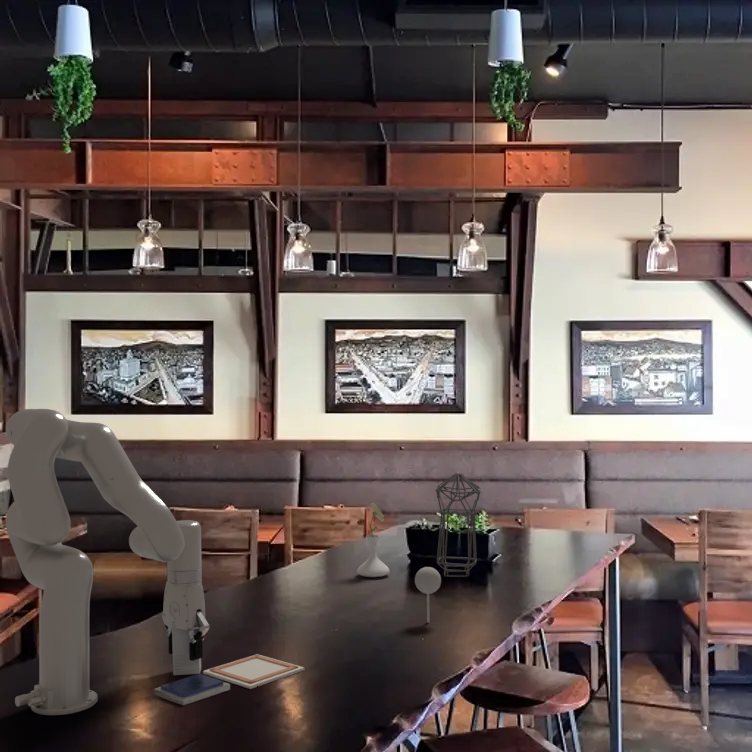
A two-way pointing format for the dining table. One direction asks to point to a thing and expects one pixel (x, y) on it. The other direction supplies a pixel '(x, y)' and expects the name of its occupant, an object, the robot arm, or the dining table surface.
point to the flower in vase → (373, 552)
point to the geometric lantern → (475, 490)
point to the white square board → (253, 671)
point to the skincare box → (183, 653)
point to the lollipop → (427, 583)
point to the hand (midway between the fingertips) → (185, 655)
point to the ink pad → (191, 689)
